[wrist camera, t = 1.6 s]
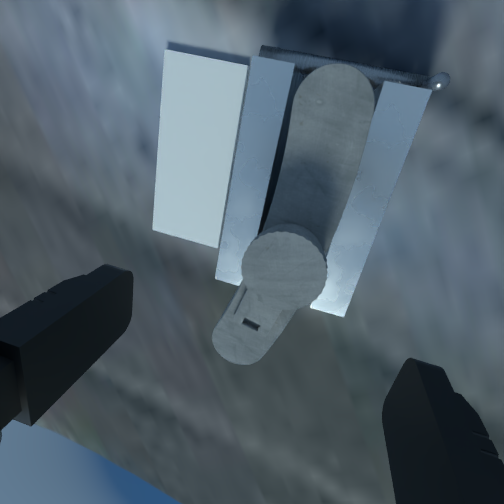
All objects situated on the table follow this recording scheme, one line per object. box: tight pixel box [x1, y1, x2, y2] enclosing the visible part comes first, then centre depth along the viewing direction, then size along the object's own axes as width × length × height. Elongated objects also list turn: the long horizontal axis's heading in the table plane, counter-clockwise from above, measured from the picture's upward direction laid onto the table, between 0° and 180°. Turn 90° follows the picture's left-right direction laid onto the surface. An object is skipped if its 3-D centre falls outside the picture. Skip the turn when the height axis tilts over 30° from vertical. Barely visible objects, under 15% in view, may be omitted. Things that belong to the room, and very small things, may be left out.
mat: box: [152, 49, 249, 248], centre depth 32 cm, size 8×18×1 cm, turn 169°
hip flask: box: [212, 63, 375, 365], centre depth 22 cm, size 16×4×20 cm, turn 162°
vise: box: [215, 45, 450, 317], centre depth 27 cm, size 14×19×7 cm
